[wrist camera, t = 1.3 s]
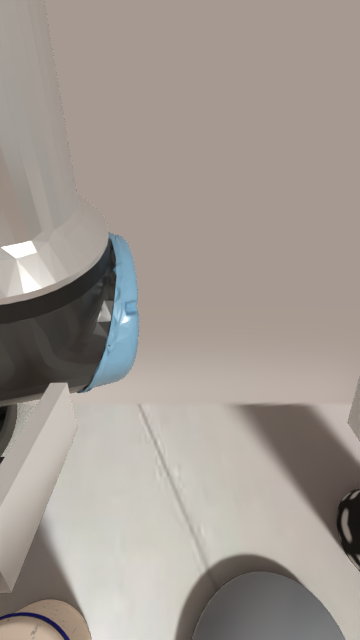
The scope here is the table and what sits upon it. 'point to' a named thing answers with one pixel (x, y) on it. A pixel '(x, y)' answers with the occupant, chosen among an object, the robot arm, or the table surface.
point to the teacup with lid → (44, 622)
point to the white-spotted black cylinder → (350, 525)
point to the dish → (265, 611)
